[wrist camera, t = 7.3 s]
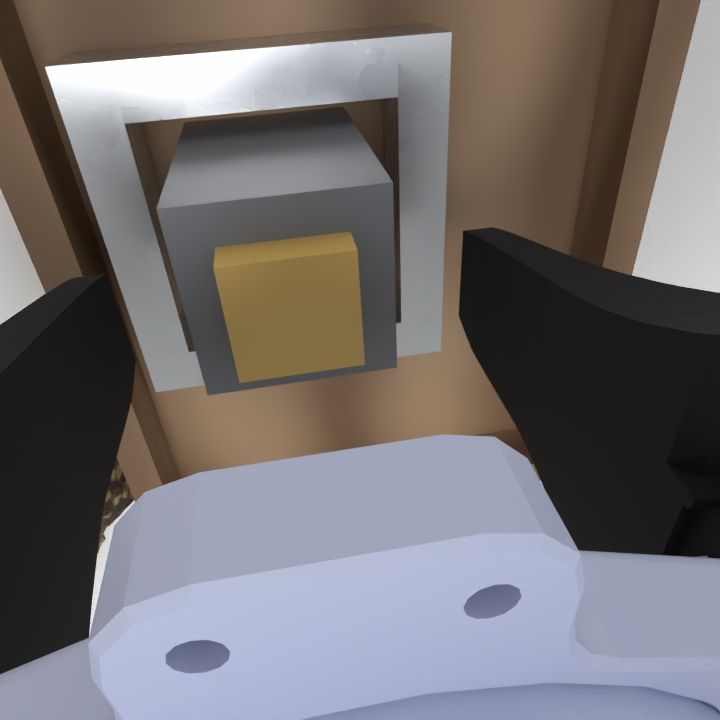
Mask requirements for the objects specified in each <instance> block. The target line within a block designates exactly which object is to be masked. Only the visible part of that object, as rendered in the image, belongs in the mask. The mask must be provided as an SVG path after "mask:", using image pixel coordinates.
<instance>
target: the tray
mask: <svg viewBox="0 0 720 720" xmlns="http://www.w3.org/2000/svg"><path fill="white" fill-rule="evenodd" d="M699 4H700V0H0V188H1V190H2V192H3V195H4V197H5V199H6V202H7V204H8V206H9V209H10V211H11V213H12V216H13V218H14V220H15V223H16V225H17V227H18V230H19V232H20V234H21V237H22V239H23V241H24V244H25V246H26V248H27V251H28V253H29V255H30V258H31V260H32V262H33V264H34V267H35V269H36V271H37V274H38V276H39V278H40V281H41V283H42V285H43V288H44V290H45V292H46V293H48V292H49V291H51V290H52V289H54V288H55V287H57V286H59V285H60V284H62V283H64V282H66V281H68V280H70V279H72V278H77V277H85V276H93V275H101V274H106V277H107V279H108V282H109V285H110V288H111V291H112V294H113V296H114V299H115V302H116V305H117V308H118V310H119V313H120V316H121V319H122V322H123V324H124V327H125V330H126V333H127V336H128V339H129V341H130V344H131V347H132V350H133V353H134V355H135V358H136V363H135V376H134V386H133V395H132V401H131V405H130V409H129V413H128V417H127V421H126V424H125V428H124V432H123V436H122V439H121V443H120V446H119V450H118V454H117V460H118V462H119V464H120V467H121V469H122V471H123V474H124V476H125V478H126V481H127V483H128V485H129V488H130V490H131V492H132V495H133V497H134V499H135V501H137V500H138V499H139V498H140V497H141V496H142V494H143V493H144V492H146V491H149V490H152V489H155V488H157V487H160V486H163V485H166V484H168V483H171V482H174V481H177V480H180V479H182V478H185V477H188V476H191V475H193V474H196V473H199V472H205V471H212V470H218V469H225V468H231V467H237V466H244V465H250V464H257V463H263V462H269V461H276V460H282V459H289V458H295V457H301V456H308V455H314V454H321V453H327V452H333V451H340V450H346V449H353V448H359V447H365V446H372V445H378V444H385V443H391V442H397V441H404V440H410V439H417V438H423V437H429V436H436V435H442V434H445V435H467V436H490V437H496V438H497V439H499V440H500V441H502V442H503V443H505V444H506V445H508V446H510V447H511V448H513V449H514V450H516V451H517V452H519V453H520V454H522V455H523V456H525V457H526V458H528V460H529V462H530V464H531V465H532V467H533V469H534V471H535V473H536V474H537V476H538V478H539V480H540V481H541V479H540V477H539V475H538V473H537V470H536V468H535V466H534V463H533V461H532V459H531V456H530V454H529V452H528V449H527V447H526V445H525V443H524V441H523V439H522V437H521V435H520V433H519V431H518V429H517V427H516V425H515V423H514V422H513V420H512V418H511V417H510V415H509V413H508V412H507V410H506V408H505V406H504V405H503V403H502V401H501V400H500V398H499V396H498V395H497V393H496V391H495V390H494V388H493V386H492V384H491V383H490V381H489V379H488V378H487V376H486V374H485V372H484V371H483V369H482V367H481V366H480V364H479V362H478V360H477V359H476V357H475V355H474V353H473V351H472V349H471V347H470V344H469V342H468V339H467V337H466V334H465V332H464V329H463V326H462V323H461V321H460V318H459V297H460V278H461V260H462V241H463V231H465V230H473V229H481V228H489V227H493V228H498V229H502V230H505V231H508V232H511V233H513V234H516V235H519V236H521V237H524V238H527V239H529V240H532V241H534V242H537V243H539V244H542V245H544V246H547V247H549V248H552V249H554V250H557V251H559V252H562V253H564V254H567V255H570V256H572V257H575V258H578V259H581V260H583V261H586V262H589V263H592V264H595V265H598V266H601V267H604V268H607V269H611V270H614V271H617V272H621V273H624V274H628V275H632V272H633V268H634V264H635V260H636V256H637V252H638V248H639V244H640V240H641V236H642V232H643V228H644V224H645V220H646V216H647V212H648V208H649V204H650V200H651V196H652V192H653V188H654V184H655V180H656V176H657V172H658V168H659V164H660V160H661V156H662V152H663V148H664V144H665V140H666V136H667V132H668V128H669V124H670V120H671V116H672V112H673V108H674V104H675V100H676V96H677V92H678V88H679V84H680V80H681V76H682V72H683V68H684V64H685V60H686V56H687V52H688V48H689V44H690V40H691V36H692V32H693V28H694V24H695V20H696V16H697V12H698V8H699ZM416 23H430V24H433V25H435V26H438V27H440V28H443V29H446V30H448V31H451V32H452V40H451V69H450V98H449V127H448V157H447V186H446V215H445V244H444V273H443V302H442V332H441V351H438V352H431V353H424V354H417V355H410V356H403V357H397V368H391V369H385V370H378V371H371V372H364V373H357V374H351V375H344V376H337V377H330V378H324V379H317V380H310V381H303V382H297V383H290V384H283V385H276V386H270V387H263V388H256V389H249V390H242V391H236V392H229V393H222V394H215V395H209V396H208V395H207V391H206V388H205V385H203V386H196V387H189V388H182V389H175V390H168V391H161V392H156V391H155V388H154V385H153V382H152V379H151V377H150V374H149V371H148V368H147V365H146V362H145V359H144V356H143V353H142V350H141V347H140V344H139V341H138V338H137V335H136V333H135V330H134V327H133V324H132V321H131V318H130V315H129V312H128V309H127V306H126V303H125V300H124V297H123V294H122V291H121V289H120V286H119V283H118V280H117V277H116V274H115V271H114V268H113V265H112V262H111V259H110V256H109V253H108V250H107V248H106V245H105V242H104V239H103V236H102V233H101V230H100V227H99V224H98V221H97V218H96V215H95V212H94V209H93V206H92V204H91V201H90V198H89V195H88V192H87V189H86V186H85V183H84V180H83V177H82V174H81V171H80V168H79V165H78V163H77V160H76V157H75V154H74V151H73V148H72V145H71V142H70V139H69V136H68V133H67V130H66V127H65V124H64V121H63V119H62V116H61V113H60V110H59V107H58V104H57V101H56V98H55V95H54V92H53V89H52V86H51V83H50V80H49V78H48V75H47V72H46V69H45V66H47V65H49V64H50V63H52V62H54V61H55V60H57V59H59V58H60V57H62V56H64V55H66V54H67V53H69V52H81V51H93V50H105V49H117V48H129V47H141V46H153V45H165V44H177V43H189V42H201V41H213V40H225V39H237V38H249V37H261V36H273V35H285V34H297V33H309V32H321V31H333V30H344V29H356V28H368V27H380V26H392V25H404V24H416ZM334 107H344V109H345V110H346V112H347V113H348V115H349V116H350V118H351V119H352V121H353V122H354V124H355V125H356V127H357V128H358V130H359V131H360V133H361V134H362V136H363V137H364V139H365V141H366V142H367V144H368V145H369V147H370V148H371V150H372V151H373V153H374V154H375V156H376V157H377V159H378V160H379V162H380V163H381V165H382V166H383V140H382V108H381V99H375V100H365V101H354V102H344V103H334V104H323V105H313V106H303V107H292V108H282V109H272V110H261V111H251V112H241V113H230V114H220V115H210V116H199V117H189V118H179V119H168V120H158V121H148V122H143V125H144V129H145V133H146V137H147V141H148V144H149V148H150V152H151V156H152V159H153V163H154V167H155V171H156V175H157V178H158V182H159V186H160V190H161V193H162V190H163V187H164V184H165V181H166V178H167V175H168V172H169V169H170V166H171V163H172V160H173V157H174V154H175V151H176V148H177V145H178V142H179V138H180V135H181V132H182V129H183V126H184V123H185V122H193V121H203V120H213V119H223V118H233V117H243V116H253V115H264V114H274V113H284V112H294V111H304V110H314V109H324V108H334Z"/></svg>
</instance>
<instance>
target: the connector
mask: <svg viewBox="0 0 720 720" xmlns="http://www.w3.org/2000/svg"><path fill="white" fill-rule="evenodd" d="M156 210H157V214H158V217H159V221H160V225H161V228H162V232H163V235H164V239H165V243H166V246H167V250H168V254H169V257H170V261H171V264H172V268H173V272H174V275H175V279H176V283H177V286H178V290H179V294H180V297H181V301H182V304H183V308H184V312H185V315H186V319H187V323H188V326H189V330H190V333H191V337H192V341H193V344H194V348H195V352H196V355H197V359H198V362H199V366H200V370H201V373H202V377H203V381H204V384H205V388H206V391H207V395H208V396H209V395H215V394H222V393H229V392H236V391H242V390H249V389H256V388H263V387H270V386H276V385H283V384H290V383H297V382H303V381H310V380H317V379H324V378H330V377H337V376H344V375H351V374H357V373H364V372H371V371H378V370H385V369H391V368H397V337H396V293H395V249H394V205H393V181H392V180H391V178H390V177H389V175H388V174H387V172H386V171H385V169H384V168H383V166H382V165H381V163H380V162H379V160H378V159H377V157H376V156H375V154H374V153H373V151H372V150H371V148H370V147H369V145H368V144H367V142H366V141H365V139H364V137H363V136H362V134H361V133H360V131H359V130H358V128H357V127H356V125H355V124H354V122H353V121H352V119H351V118H350V116H349V115H348V113H347V112H346V110H345V109H344V107H334V108H324V109H314V110H304V111H294V112H284V113H274V114H264V115H253V116H243V117H233V118H223V119H213V120H203V121H193V122H185V123H184V126H183V129H182V132H181V135H180V138H179V142H178V145H177V148H176V151H175V154H174V157H173V160H172V163H171V166H170V169H169V172H168V175H167V178H166V181H165V184H164V187H163V190H162V193H161V196H160V199H159V202H158V205H157V208H156Z"/></svg>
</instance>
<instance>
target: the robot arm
mask: <svg viewBox="0 0 720 720" xmlns="http://www.w3.org/2000/svg"><path fill="white" fill-rule="evenodd" d="M459 318H460V321H461V323H462V326H463V329H464V332H465V334H466V337H467V339H468V342H469V344H470V347H471V349H472V351H473V353H474V355H475V357H476V359H477V360H478V362H479V364H480V366H481V367H482V369H483V371H484V372H485V374H486V376H487V378H488V379H489V381H490V383H491V384H492V386H493V388H494V390H495V391H496V393H497V395H498V396H499V398H500V400H501V401H502V403H503V405H504V406H505V408H506V410H507V412H508V413H509V415H510V417H511V418H512V420H513V422H514V423H515V425H516V427H517V429H518V431H519V433H520V435H521V437H522V439H523V441H524V443H525V445H526V447H527V449H528V452H529V454H530V456H531V459H532V461H533V463H534V466H535V468H536V470H537V473H538V475H539V477H540V479H541V482H542V484H543V485H542V484H541V482H540V480H539V478H538V476H537V474H536V473H535V471H534V469H533V467H532V465H531V464H530V462H529V460H528V458H526V457H525V456H523V455H522V454H520V453H519V452H517V451H516V450H514V449H513V448H511V447H510V446H508V445H506V444H505V443H503V442H502V441H500V440H499V439H497V438H496V437H490V436H467V435H445V434H442V435H436V436H429V437H423V438H417V439H410V440H404V441H397V442H391V443H385V444H378V445H372V446H365V447H359V448H353V449H346V450H340V451H333V452H327V453H321V454H314V455H308V456H301V457H295V458H289V459H282V460H276V461H269V462H263V463H257V464H250V465H244V466H237V467H231V468H225V469H218V470H212V471H205V472H199V473H196V474H193V475H191V476H188V477H185V478H182V479H180V480H177V481H174V482H171V483H168V484H166V485H163V486H160V487H157V488H155V489H152V490H149V491H146V492H144V493H143V494H142V496H141V497H140V498H139V499H138V500H137V501H136V502H135V503H134V505H133V506H132V507H131V508H130V509H129V510H128V511H127V512H126V513H125V515H124V516H123V517H122V518H121V519H120V520H119V521H118V522H117V523H116V525H115V526H114V531H113V535H112V540H111V544H110V549H109V553H108V557H107V562H106V566H105V571H104V575H103V579H102V584H101V588H100V593H99V597H98V602H97V606H96V610H95V615H94V619H93V624H92V628H91V633H90V637H89V629H90V617H91V605H92V595H93V586H94V577H95V568H96V559H97V551H98V544H99V537H100V530H101V523H102V516H103V509H104V504H105V500H106V495H107V490H108V486H109V483H110V479H111V475H112V472H113V468H114V465H115V461H116V457H117V454H118V450H119V446H120V443H121V439H122V436H123V432H124V428H125V424H126V421H127V417H128V413H129V409H130V405H131V401H132V395H133V386H134V376H135V363H136V358H135V355H134V353H133V350H132V347H131V344H130V341H129V339H128V336H127V333H126V330H125V327H124V324H123V322H122V319H121V316H120V313H119V310H118V308H117V305H116V302H115V299H114V296H113V294H112V291H111V288H110V285H109V282H108V279H107V277H106V274H101V275H93V276H85V277H77V278H72V279H70V280H68V281H66V282H64V283H62V284H60V285H59V286H57V287H55V288H54V289H52V290H51V291H49V292H48V293H46V294H45V295H43V296H42V297H40V298H39V299H37V300H36V301H34V302H33V303H31V304H30V305H28V306H27V307H26V308H24V309H23V310H21V311H20V312H18V313H17V314H15V315H14V316H12V317H11V318H10V319H8V320H7V321H5V322H4V323H2V324H1V325H0V720H720V293H716V292H710V291H704V290H698V289H692V288H686V287H680V286H675V285H670V284H665V283H660V282H656V281H652V280H648V279H644V278H640V277H636V276H632V275H628V274H624V273H621V272H617V271H614V270H611V269H607V268H604V267H601V266H598V265H595V264H592V263H589V262H586V261H583V260H581V259H578V258H575V257H572V256H570V255H567V254H564V253H562V252H559V251H557V250H554V249H552V248H549V247H547V246H544V245H542V244H539V243H537V242H534V241H532V240H529V239H527V238H524V237H521V236H519V235H516V234H513V233H511V232H508V231H505V230H502V229H498V228H493V227H489V228H481V229H473V230H465V231H463V241H462V260H461V278H460V297H459Z"/></svg>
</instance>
